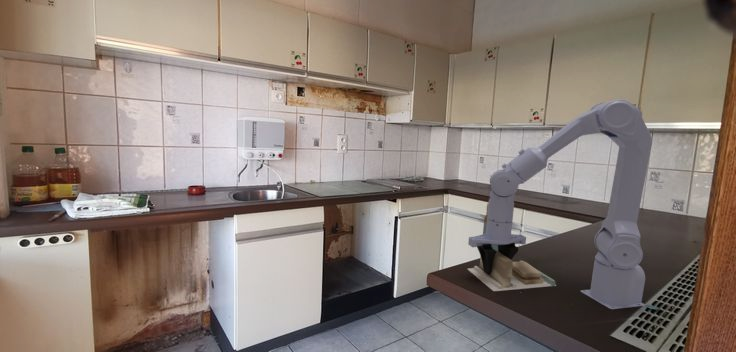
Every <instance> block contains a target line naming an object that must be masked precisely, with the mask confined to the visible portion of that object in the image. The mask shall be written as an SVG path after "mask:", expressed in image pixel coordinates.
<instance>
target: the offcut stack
mask: <svg viewBox="0 0 736 352" xmlns="http://www.w3.org/2000/svg"><path fill="white" fill-rule="evenodd" d="M539 271H540V270H539V269H537V270H536V268H535V267H533V265H531V264H530V263H529V262H527V261H524V262H519V261H513V265H512V276H513V277H515V278H516V279H518V280H519V281H521V282H522V283H523V284H525V285H529V284H541V283H543V281H544V280H543V279H541V278H540V277H542V273H543V272H542V273H541V271H540V272H539Z"/></svg>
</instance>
